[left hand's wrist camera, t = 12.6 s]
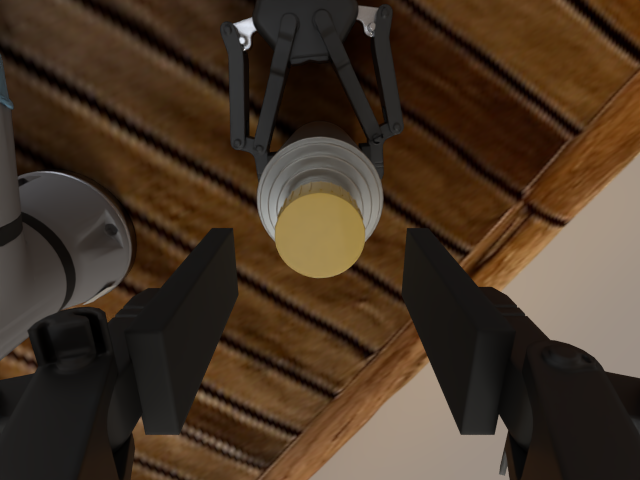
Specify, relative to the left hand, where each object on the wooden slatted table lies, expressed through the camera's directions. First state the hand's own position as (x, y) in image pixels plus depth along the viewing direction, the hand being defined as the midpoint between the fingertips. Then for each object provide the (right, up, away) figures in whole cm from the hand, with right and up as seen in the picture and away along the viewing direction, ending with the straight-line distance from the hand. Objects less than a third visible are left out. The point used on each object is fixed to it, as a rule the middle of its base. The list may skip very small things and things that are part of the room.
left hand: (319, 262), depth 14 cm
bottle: (0, +10, +26) cm, 28 cm away
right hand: (0, +3, +22) cm, 22 cm away
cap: (0, +1, +3) cm, 3 cm away
